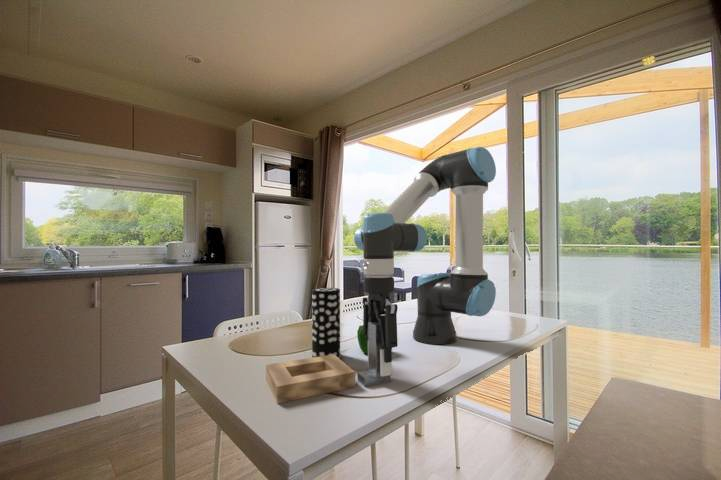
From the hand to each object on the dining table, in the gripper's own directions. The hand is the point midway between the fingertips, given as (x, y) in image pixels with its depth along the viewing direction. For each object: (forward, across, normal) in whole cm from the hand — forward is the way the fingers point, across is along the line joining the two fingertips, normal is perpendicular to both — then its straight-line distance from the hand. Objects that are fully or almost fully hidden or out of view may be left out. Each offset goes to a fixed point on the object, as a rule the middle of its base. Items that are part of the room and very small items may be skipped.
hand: (379, 370), depth 80 cm
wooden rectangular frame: (+2, -6, -16) cm, 17 cm away
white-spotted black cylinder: (+3, -22, -6) cm, 23 cm away
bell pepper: (+3, -20, +8) cm, 22 cm away
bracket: (+2, 0, -1) cm, 3 cm away
